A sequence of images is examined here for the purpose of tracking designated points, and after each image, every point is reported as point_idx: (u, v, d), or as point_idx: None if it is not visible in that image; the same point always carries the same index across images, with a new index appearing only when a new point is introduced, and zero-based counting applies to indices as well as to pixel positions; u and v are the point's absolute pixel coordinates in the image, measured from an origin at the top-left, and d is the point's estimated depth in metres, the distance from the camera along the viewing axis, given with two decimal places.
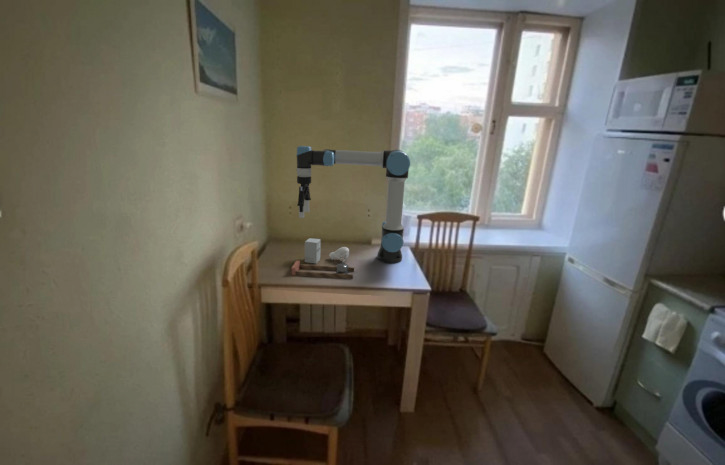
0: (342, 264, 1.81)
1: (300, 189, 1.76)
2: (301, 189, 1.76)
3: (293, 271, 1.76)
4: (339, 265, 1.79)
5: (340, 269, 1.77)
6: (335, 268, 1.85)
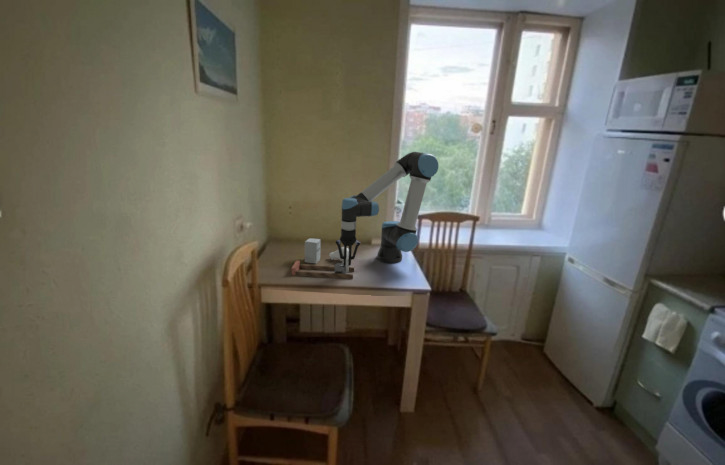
0: (340, 264, 1.81)
1: None
2: None
3: (293, 271, 1.76)
4: (337, 265, 1.79)
5: (338, 269, 1.77)
6: None
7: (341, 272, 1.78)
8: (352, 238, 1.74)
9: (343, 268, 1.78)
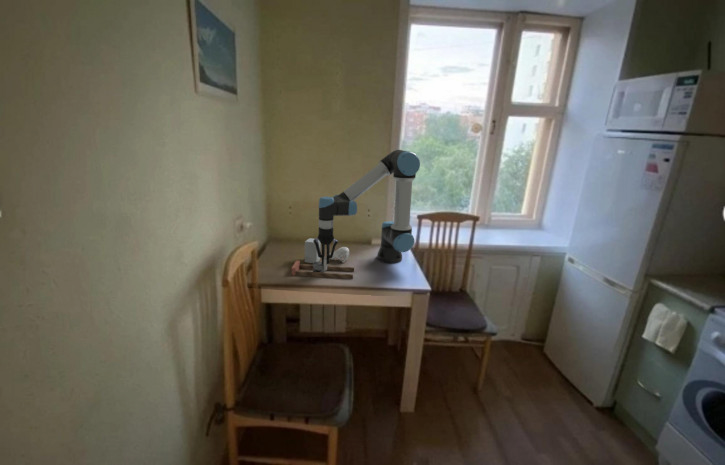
0: (318, 262, 1.81)
1: None
2: None
3: (293, 271, 1.76)
4: (315, 263, 1.80)
5: (316, 268, 1.78)
6: (335, 268, 1.85)
7: (319, 271, 1.78)
8: (329, 237, 1.74)
9: (321, 267, 1.78)
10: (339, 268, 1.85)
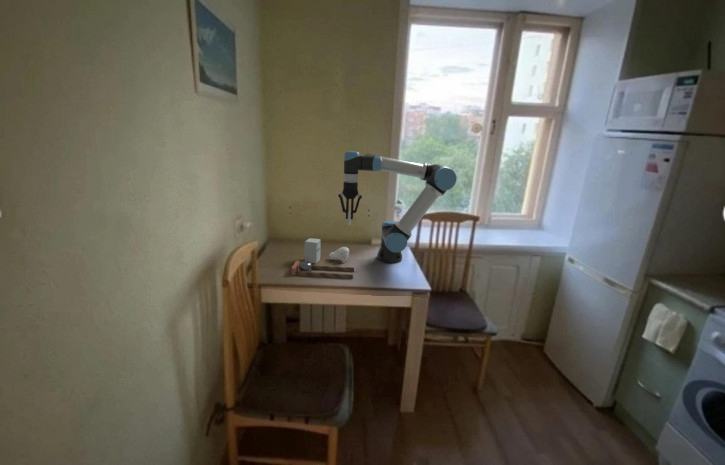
0: (306, 262, 1.82)
1: None
2: None
3: (293, 271, 1.76)
4: (302, 263, 1.80)
5: (303, 267, 1.78)
6: (335, 268, 1.85)
7: (306, 270, 1.79)
8: (354, 191, 1.78)
9: (308, 266, 1.78)
10: (339, 268, 1.85)
